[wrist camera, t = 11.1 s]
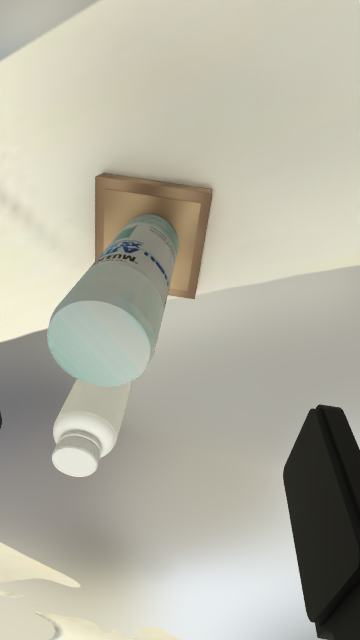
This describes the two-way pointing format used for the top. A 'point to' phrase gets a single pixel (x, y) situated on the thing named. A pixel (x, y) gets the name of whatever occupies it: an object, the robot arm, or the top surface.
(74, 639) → the top surface
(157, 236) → the pale blue bottle
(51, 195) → the top surface
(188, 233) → the square brown tray
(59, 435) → the pill bottle
